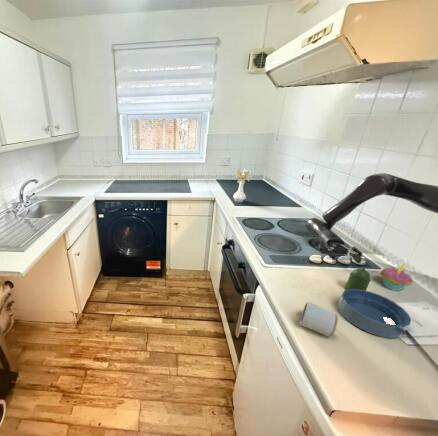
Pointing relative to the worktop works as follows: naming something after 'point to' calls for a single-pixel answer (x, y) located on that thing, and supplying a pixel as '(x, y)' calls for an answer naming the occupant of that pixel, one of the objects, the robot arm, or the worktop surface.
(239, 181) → the flower vase
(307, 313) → the ceramic mug
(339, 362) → the worktop surface
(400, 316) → the bowl
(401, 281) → the cupcake
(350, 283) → the green rounded cylinder
